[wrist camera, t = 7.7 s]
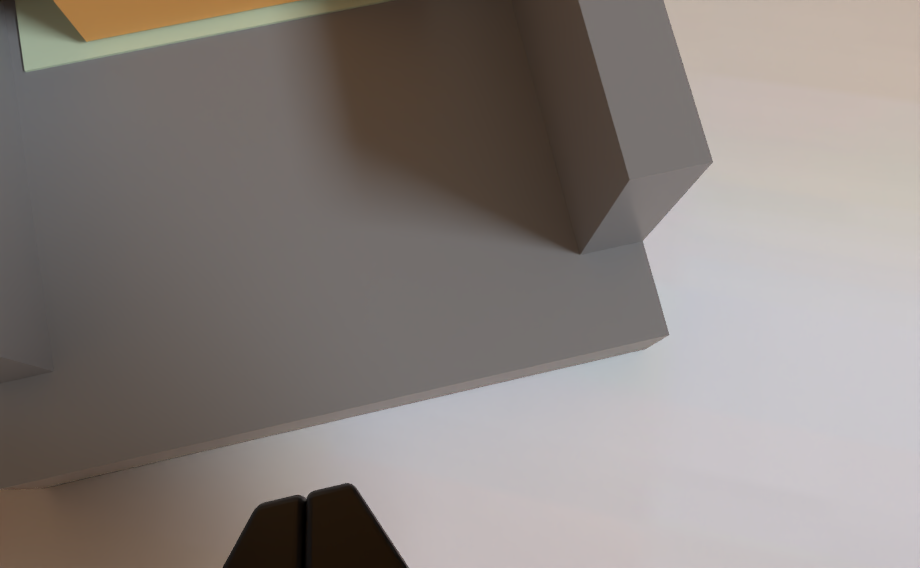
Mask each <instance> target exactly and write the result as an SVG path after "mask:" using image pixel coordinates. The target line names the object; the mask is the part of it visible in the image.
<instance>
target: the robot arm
mask: <svg viewBox="0 0 920 568" xmlns="http://www.w3.org/2000/svg"><path fill="white" fill-rule="evenodd" d="M223 568H409V567H408V566H407V564H406V563H405V561H404V560H403V558H402V557H401V555H400V554H399V552H398V551H397V549H396V547H395V546H394V544H393V543H392V541H391V540H390V538H389V537H388V535H387V534H386V532H385V531H384V529H383V528H382V526H381V525H380V523H379V522H378V520H377V519H376V517H375V516H374V514H373V513H372V511H371V510H370V508H369V507H368V505H367V504H366V502H365V501H364V499H363V498H362V496H361V495H360V493H359V491H358V490H357V489H356V487H355V486H353V485H352V484H349V483H345V484H341V485H337V486H332V487H328V488H324V489H320V490H315V491H313V492H311V493H310V494H309V495H308V497H307V499H306V498H305V497H303V496H301V495H294V496H290V497H286V498H282V499H277V500H273V501H269V502H265V503H262V504H260V505H259V506H258V507H257V508H256V509H255V510H254V511H253V513H252V515H251V517H250V519H249V520H248V522H247V524H246V526H245V528H244V530H243V531H242V533H241V535H240V537H239V539H238V540H237V542H236V544H235V546H234V548H233V550H232V551H231V553H230V555H229V557H228V559H227V561H226V562H225V564H224V566H223Z"/></svg>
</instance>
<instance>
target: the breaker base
mask: <svg viewBox="0 0 920 568" xmlns="http://www.w3.org/2000/svg"><path fill="white" fill-rule="evenodd" d="M712 162H713V161H712V157H711V154H710V151H709V148H708V144H707V141H706V138H705V135H704V131H703V128H702V125H701V122H700V118H699V115H698V112H697V109H696V105H695V102H694V99H693V96H692V92H691V89H690V86H689V83H688V79H687V76H686V73H685V70H684V66H683V63H682V60H681V57H680V53H679V50H678V47H677V44H676V40H675V37H674V34H673V31H672V27H671V24H670V21H669V18H668V14H667V11H666V8H665V5H664V1H663V0H299V1H294V2H289V3H284V4H279V5H274V6H268V7H263V8H258V9H253V10H248V11H243V12H237V13H232V14H227V15H222V16H217V17H212V18H206V19H201V20H196V21H191V22H186V23H181V24H175V25H170V26H165V27H160V28H155V29H150V30H144V31H139V32H134V33H129V34H124V35H119V36H114V37H108V38H103V39H98V40H93V41H88V42H86V41H85V39H84V38H83V37H82V36H81V34H80V33H79V32H78V31H77V30H76V28H75V27H74V26H73V25H72V23H71V22H70V21H69V20H68V18H67V17H66V16H65V15H64V13H63V12H62V11H61V10H60V8H59V7H58V6H57V5H56V3H55V2H54V1H53V0H0V490H5V489H35V488H46V487H51V486H55V485H59V484H64V483H68V482H72V481H77V480H81V479H85V478H90V477H94V476H98V475H103V474H107V473H111V472H115V471H120V470H124V469H128V468H133V467H137V466H141V465H146V464H150V463H154V462H159V461H163V460H167V459H172V458H176V457H180V456H185V455H189V454H193V453H198V452H202V451H206V450H211V449H215V448H219V447H224V446H228V445H232V444H237V443H241V442H245V441H250V440H254V439H258V438H263V437H267V436H271V435H276V434H280V433H284V432H289V431H293V430H297V429H302V428H306V427H310V426H314V425H319V424H323V423H327V422H332V421H336V420H340V419H345V418H349V417H353V416H358V415H362V414H366V413H371V412H375V411H379V410H384V409H388V408H392V407H397V406H401V405H405V404H410V403H414V402H418V401H423V400H427V399H431V398H436V397H440V396H444V395H449V394H453V393H457V392H462V391H466V390H470V389H475V388H479V387H483V386H488V385H492V384H496V383H500V382H505V381H509V380H513V379H518V378H522V377H526V376H531V375H535V374H539V373H544V372H548V371H552V370H557V369H561V368H565V367H570V366H574V365H578V364H583V363H587V362H591V361H596V360H600V359H604V358H609V357H613V356H617V355H622V354H626V353H630V352H635V351H639V350H643V349H646V348H648V347H650V346H652V345H653V344H655V343H657V342H658V341H660V340H662V339H663V338H665V337H667V336H668V335H669V332H668V329H667V325H666V322H665V318H664V315H663V311H662V308H661V304H660V301H659V297H658V294H657V290H656V287H655V283H654V280H653V276H652V273H651V269H650V266H649V262H648V259H647V255H646V252H645V248H644V245H643V240H644V239H645V238H646V237H647V235H648V234H649V233H650V232H651V231H652V230H653V229H654V228H655V226H656V225H657V224H658V223H659V222H660V221H661V220H662V219H663V217H664V216H665V215H666V214H667V213H668V212H669V211H670V210H671V208H672V207H673V206H674V205H675V204H676V203H677V202H678V201H679V200H680V198H681V197H682V196H683V195H684V194H685V193H686V192H687V191H688V189H689V188H690V187H691V186H692V185H693V184H694V183H695V182H696V180H697V179H698V178H699V177H700V176H701V175H702V174H703V173H704V171H705V170H706V169H707V168H708V167H709V166H710V165H711V164H712Z"/></svg>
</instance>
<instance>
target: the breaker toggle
mask: <svg viewBox="0 0 920 568" xmlns="http://www.w3.org/2000/svg"><path fill="white" fill-rule="evenodd" d="M53 1H54V2H55V3H56V5H57V6H58V7H59V8H60V10H61V11H62V12H63V13H64V15H65V16H66V17H67V18H68V20H69V21H70V22H71V23H72V25H73V26H74V27H75V28H76V30H77V31H78V32H79V33H80V34H81V36H82V37H83V38H84V39H85V41H86V42H88V41H93V40H98V39H103V38H108V37H114V36H119V35H124V34H129V33H134V32H139V31H144V30H150V29H155V28H160V27H165V26H170V25H175V24H181V23H186V22H191V21H196V20H201V19H206V18H212V17H217V16H222V15H227V14H232V13H237V12H243V11H248V10H253V9H258V8H263V7H268V6H274V5H279V4H284V3H289V2H294V1H299V0H53Z"/></svg>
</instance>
